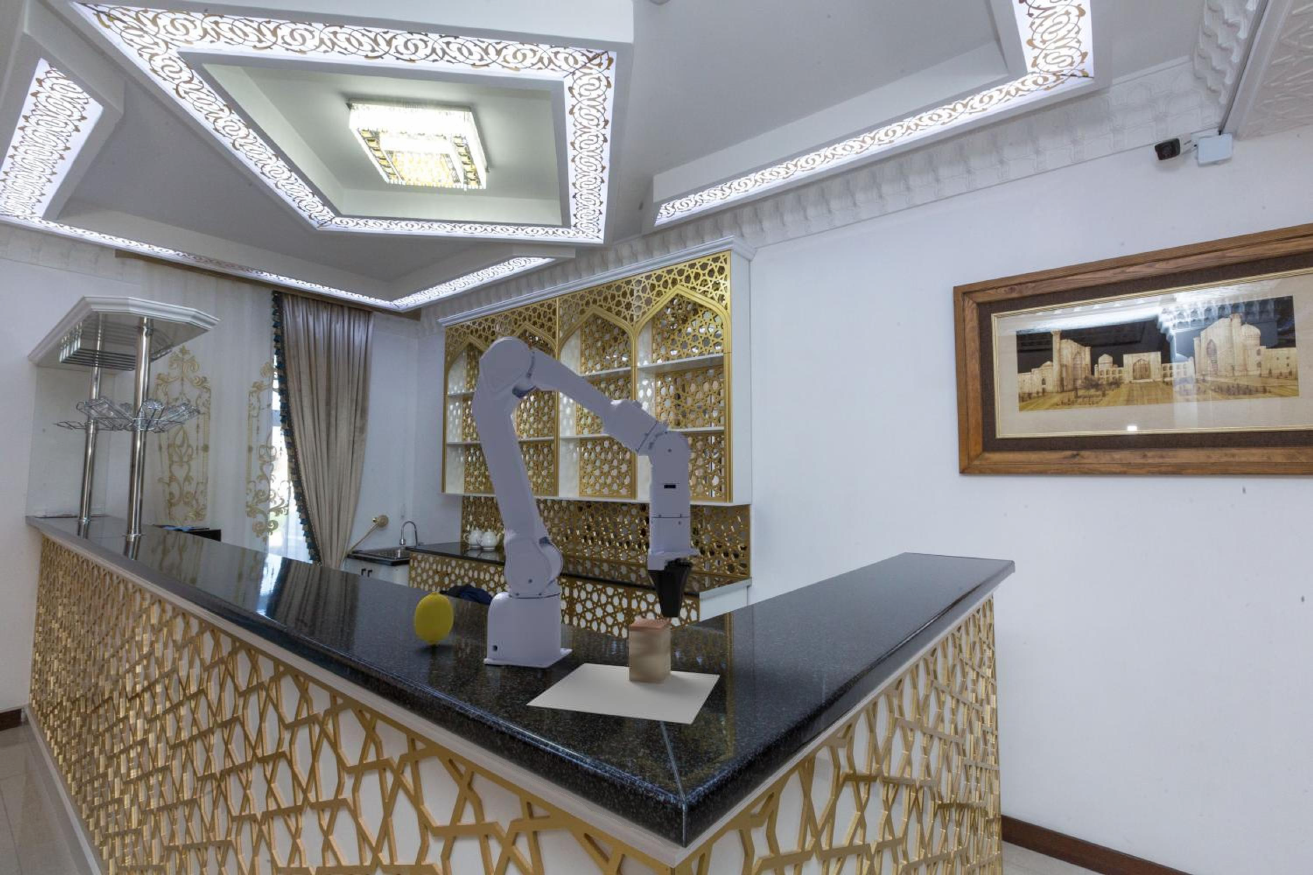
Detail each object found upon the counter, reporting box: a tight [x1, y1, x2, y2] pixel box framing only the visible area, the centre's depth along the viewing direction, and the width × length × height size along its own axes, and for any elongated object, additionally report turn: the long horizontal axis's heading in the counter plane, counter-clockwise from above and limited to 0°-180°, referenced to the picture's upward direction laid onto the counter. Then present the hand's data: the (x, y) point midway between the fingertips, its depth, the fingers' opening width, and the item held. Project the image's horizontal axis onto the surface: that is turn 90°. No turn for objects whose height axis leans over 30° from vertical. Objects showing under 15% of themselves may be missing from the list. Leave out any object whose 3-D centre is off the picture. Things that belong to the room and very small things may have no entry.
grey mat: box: [526, 662, 721, 725], centre depth 65 cm, size 18×15×1 cm
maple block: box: [628, 618, 672, 684], centre depth 69 cm, size 4×4×6 cm
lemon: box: [413, 591, 454, 645], centre depth 86 cm, size 6×6×8 cm
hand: (670, 616), depth 79 cm, fingers closed
